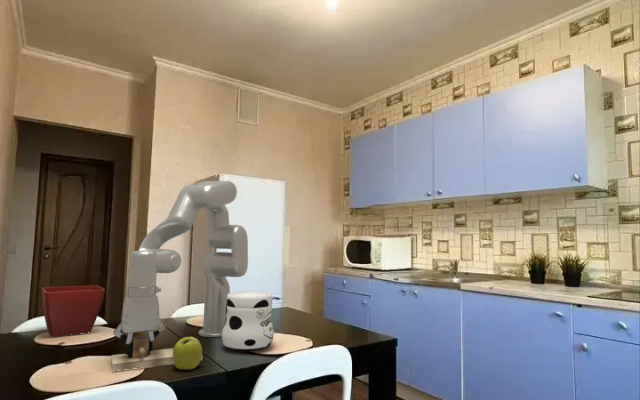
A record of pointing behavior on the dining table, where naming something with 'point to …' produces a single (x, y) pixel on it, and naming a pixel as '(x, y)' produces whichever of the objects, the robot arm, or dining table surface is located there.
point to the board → (143, 360)
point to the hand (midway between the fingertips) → (138, 354)
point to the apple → (187, 353)
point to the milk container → (248, 321)
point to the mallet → (140, 347)
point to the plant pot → (71, 308)
